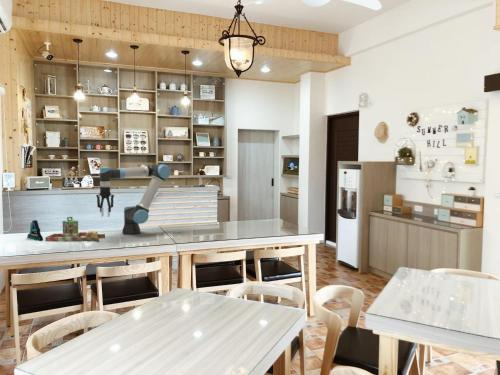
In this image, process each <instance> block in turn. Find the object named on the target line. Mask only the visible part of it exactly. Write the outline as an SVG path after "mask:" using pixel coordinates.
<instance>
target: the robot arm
mask: <svg viewBox="0 0 500 375" xmlns="http://www.w3.org/2000/svg"><path fill="white" fill-rule="evenodd" d="M170 175H171V169H170V167H169V166H168V165H167V164H163V163H162V164H158V163H157V164H156V163H155V164H149V165H143V166H138V167H137V166H135V167H133V166H132V167H119V168H118V167H117V168H111V167H110V166H101V167H99V186H100V187H99V194H96V195H95V196H96V205H97V208H99V211H100V216H101V218H102V217H104V207H103V206H104V201H105V199H106V203H107V207H108V208H107V217H110V216H111V210H112V208H113V207H114V197H115V195H114V194H112V193H111V180H113V179H115V180H118V179H119V180H123V179H125V178H128V177H143V176H144V177H146V178H147V177H150V178H151V180H150V182H149V184H148V185H147V187H146V189H145V192H144V193H143V195H142V197H141V200H139V201H140V202H138V203H137V204H136V205H134V206H125V207H124V208H123V218H124V221H123V222H124V225H123V227H122V229H121V230H122V232H121V234H122V235H139V234H141V233H142V231H141V228H140V224H141V225H142V224H144V223H146V222H147V221H148V220H149V217H150V216H149V212H150V206H151V204H152V203H153V200H154V198H155V196H156V194H157V192H158V190H159V188H160V186H161V185H162V183H165V180H166V179H168V178H169V177H170Z"/></svg>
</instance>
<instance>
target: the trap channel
mask: <svg viewBox="0 0 500 375" xmlns="http://www.w3.org/2000/svg"><path fill="white" fill-rule="evenodd" d="M87 232H88V231H84V232H83V231H80V232H79V231H78V233H77V234H63V233H52V234H49V235H47V236H45V242H78V243H79V242H80V243H81V242H82V241H83V242H84V241H97V243H99V242H100V239H105V238H106V234H105V233H98V237H86V233H87Z"/></svg>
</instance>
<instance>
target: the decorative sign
mask: <svg viewBox="0 0 500 375" xmlns="http://www.w3.org/2000/svg"><path fill="white" fill-rule="evenodd" d="M29 229H30V230H29V233H28V234H27V236H26V237H27V238H26V239H29V240H30V239H31V240H35V241H39V242H41V241H44V238H43V235H42V234H41V228H40V227H39V222H38V220H36V219H35V220H32V221H31V223H30V226H29Z"/></svg>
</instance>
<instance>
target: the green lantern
mask: <svg viewBox="0 0 500 375" xmlns="http://www.w3.org/2000/svg"><path fill="white" fill-rule="evenodd" d="M77 233H79V221H78V220H74V219H73V216H67V217H66V220H63V221H62V234H77Z"/></svg>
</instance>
